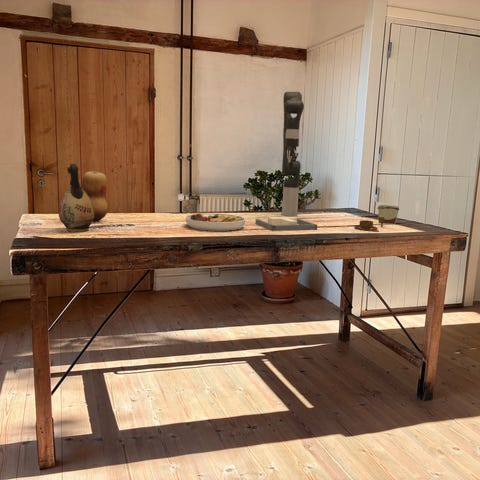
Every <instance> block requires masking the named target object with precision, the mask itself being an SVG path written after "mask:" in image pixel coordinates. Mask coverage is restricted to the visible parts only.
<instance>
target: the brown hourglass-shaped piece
mask: <svg viewBox="0 0 480 480" xmlns="http://www.w3.org/2000/svg"><path fill="white" fill-rule="evenodd" d="M107 183H108V181H107V176H106V175H105V174H104V173H103V172H99V171H86V172H85V173H84V174H83V176H82V180H81V187H82V188H83V189H84V191H85V192H86V194H87V195H88V196H89V198H90V200H91V201H92V204H93V207H94V212H95V216H94V220H93V222H100V221H101V220H103V219H104V217H106V216H107V213H108V203H107V200H106V194H107V189H108V188H107Z"/></svg>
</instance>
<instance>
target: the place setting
mask: <svg viewBox="0 0 480 480" xmlns="http://www.w3.org/2000/svg"><path fill="white" fill-rule="evenodd" d="M384 221H385V218H384V217H380V222H381V223H380V228H383V226H384V224H383V222H384ZM358 224H359V225H358ZM358 224H357V225H354V227H353V228H354V229H355V230H358V231H363V232H365V231H366V232H369V233H371V232H372V233H379V232H380V231H379V230H378V227H377V226H374V221H373V220H367V219H366V220H364V219H362V220H361V219H360V220H359V223H358Z"/></svg>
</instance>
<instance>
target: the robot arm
mask: <svg viewBox="0 0 480 480" xmlns="http://www.w3.org/2000/svg"><path fill="white" fill-rule="evenodd" d="M304 110H305V105H304V102H303V96H302V93H301V92H300V91H286V92H284V93H283V127H282V129H283V130H282V131H283V132H282V133H283V135H282V136H283V138H282V139H283V141H282V142H283V145H282V146H283V147H282V149H283V150H282V151H283V152H282V163H281V164H282V165H281V172H282V175H283V176H289V177H293V178H292V179H290V180H287V181H284V183H283V190H282V193H283V194H282V195H283V196H282V206H281V207H282V208H281V215H282V216H284V217H297V216H298V205H299V191H300V189H299V188H300V187H299V186H300V175H301V168H302V167H301V161H299V160H297V159H298V157H299V152H297V148H298V147H299V145H300V124H301V123H300V121H301V117H302V115H303V112H304ZM292 114H293V115H296V116H295V117H293V116H292Z"/></svg>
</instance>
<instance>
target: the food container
mask: <svg viewBox="0 0 480 480" xmlns="http://www.w3.org/2000/svg"><path fill="white" fill-rule="evenodd" d="M399 207H400V206H397V205H386V204H380V205H378V206H377V211H378V212H377V213H378V224H381V222H380V217H384V218H385V221H384V222H383V225H384V224H387V225H396V223H397V219H398V218H397V217H398V213H399V211H400V208H399Z"/></svg>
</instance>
